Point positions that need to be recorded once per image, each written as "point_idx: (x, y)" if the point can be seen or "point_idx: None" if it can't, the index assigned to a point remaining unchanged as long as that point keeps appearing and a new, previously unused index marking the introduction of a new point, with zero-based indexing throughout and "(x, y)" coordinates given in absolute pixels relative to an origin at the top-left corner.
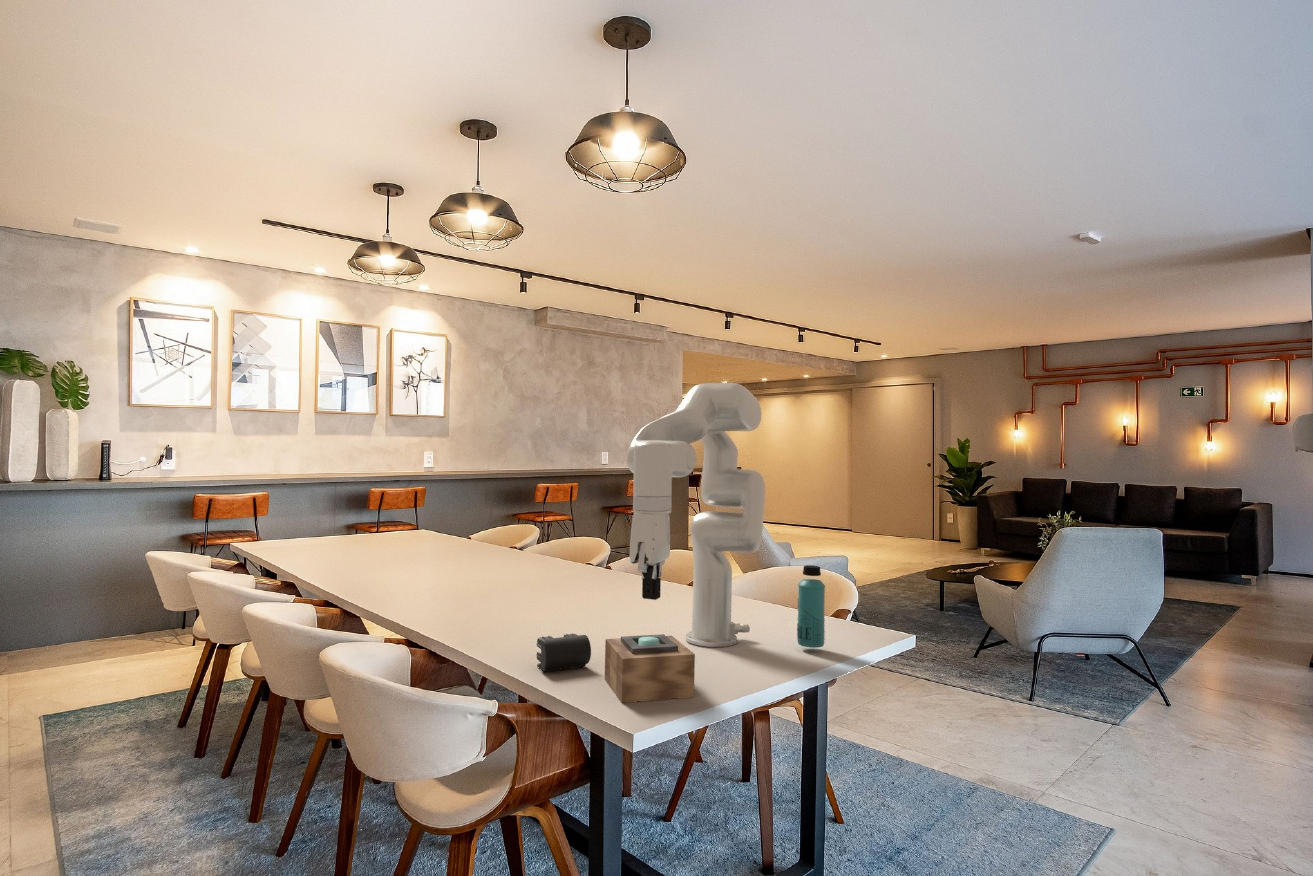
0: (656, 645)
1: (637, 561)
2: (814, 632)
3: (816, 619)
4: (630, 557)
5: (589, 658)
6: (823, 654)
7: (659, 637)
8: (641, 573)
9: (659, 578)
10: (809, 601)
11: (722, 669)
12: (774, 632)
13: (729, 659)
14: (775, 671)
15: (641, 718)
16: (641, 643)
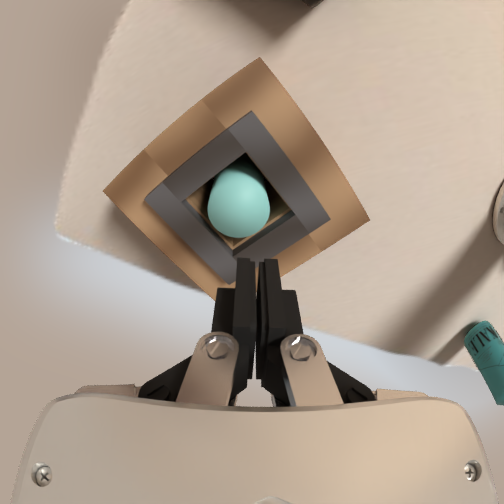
0: (206, 241)
1: (205, 406)
2: (472, 354)
3: (479, 368)
4: (31, 431)
5: (309, 6)
6: (459, 341)
7: (292, 220)
8: (193, 358)
9: (261, 386)
10: (492, 381)
11: (392, 258)
12: None
13: (442, 254)
14: (392, 321)
15: (98, 220)
16: (210, 196)
